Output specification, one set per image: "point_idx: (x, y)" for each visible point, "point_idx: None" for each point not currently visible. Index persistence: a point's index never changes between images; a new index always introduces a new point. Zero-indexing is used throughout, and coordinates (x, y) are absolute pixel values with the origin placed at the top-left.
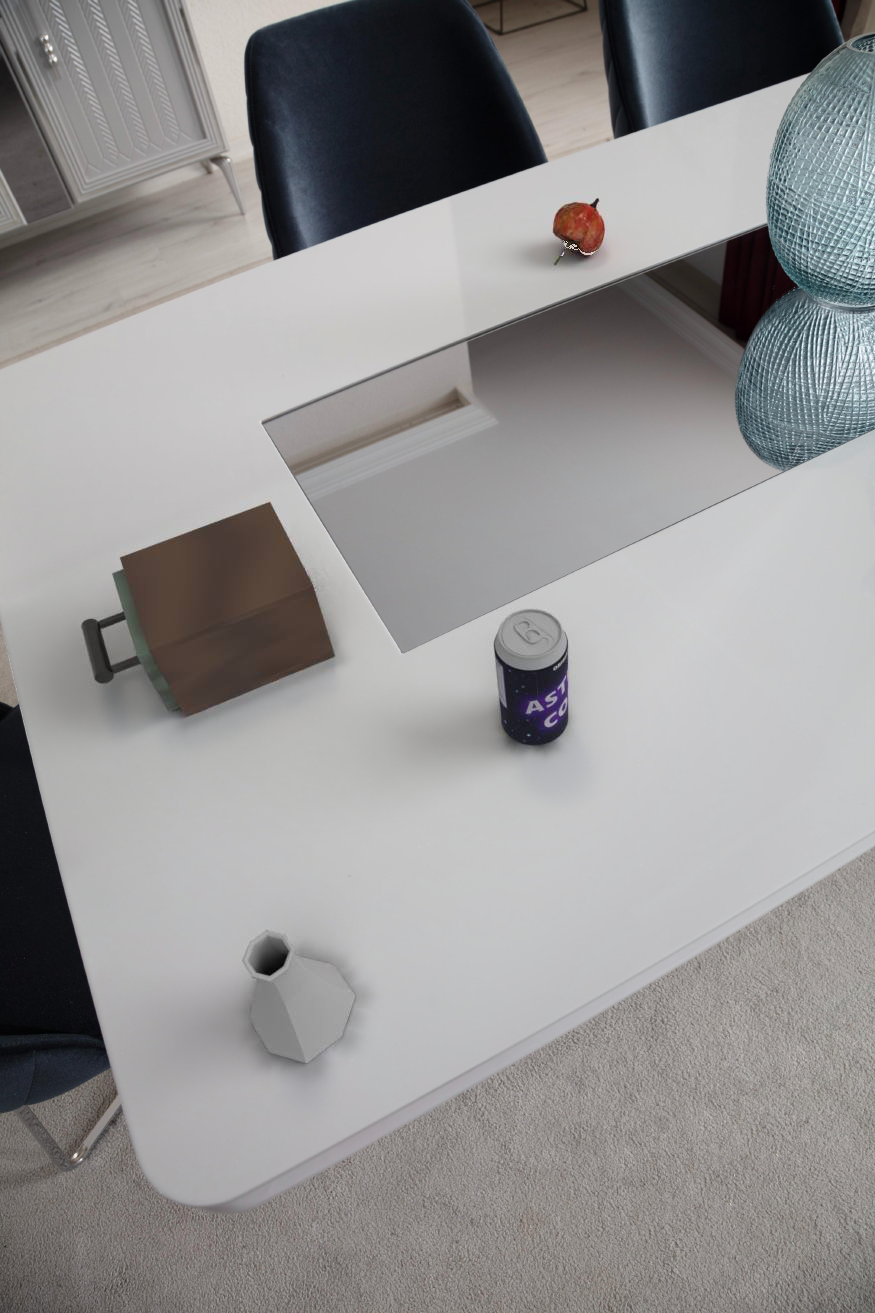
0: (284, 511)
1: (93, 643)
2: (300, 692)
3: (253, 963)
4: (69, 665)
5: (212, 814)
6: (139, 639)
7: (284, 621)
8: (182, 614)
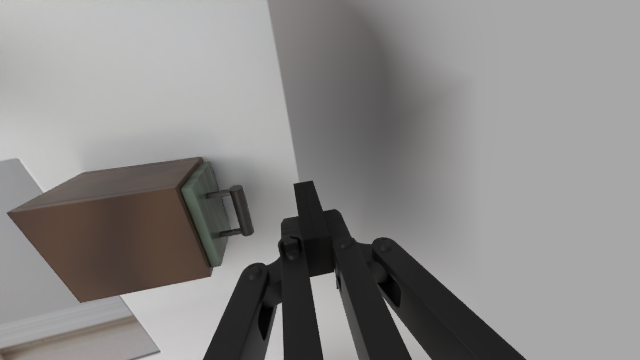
0: (138, 292)
1: (241, 215)
2: (110, 150)
3: None
4: (279, 216)
5: (176, 68)
6: (191, 203)
7: (70, 193)
8: (147, 214)
